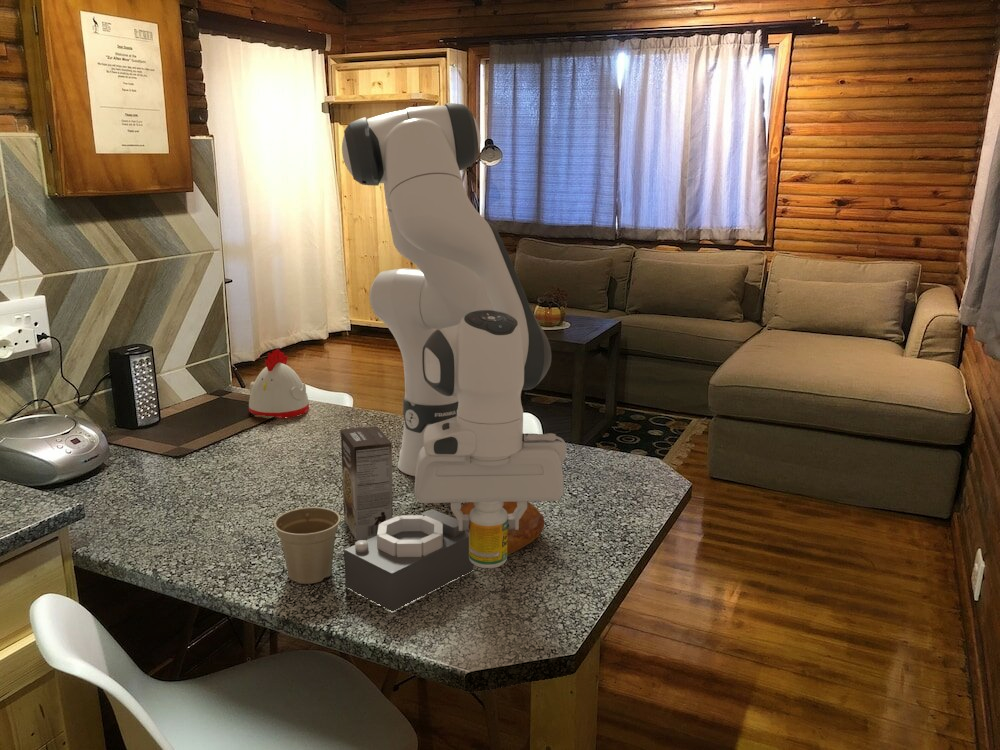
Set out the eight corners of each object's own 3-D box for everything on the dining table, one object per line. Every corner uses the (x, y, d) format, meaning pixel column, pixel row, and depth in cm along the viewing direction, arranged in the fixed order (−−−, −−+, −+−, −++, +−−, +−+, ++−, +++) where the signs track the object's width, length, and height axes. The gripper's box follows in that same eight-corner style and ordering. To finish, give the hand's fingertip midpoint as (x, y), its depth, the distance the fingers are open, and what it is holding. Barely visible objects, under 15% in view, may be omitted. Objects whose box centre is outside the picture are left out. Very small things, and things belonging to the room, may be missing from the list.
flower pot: (267, 569, 120) (264, 515, 118) (326, 553, 125) (324, 501, 123) (291, 597, 113) (288, 540, 111) (353, 578, 118) (351, 524, 116)
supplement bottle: (468, 550, 116) (469, 488, 113) (506, 550, 116) (507, 488, 113) (468, 569, 110) (469, 504, 108) (508, 569, 111) (509, 504, 108)
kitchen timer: (237, 415, 191) (233, 353, 187) (270, 400, 204) (267, 341, 200) (288, 422, 187) (285, 359, 183) (319, 406, 200) (317, 346, 196)
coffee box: (342, 519, 137) (339, 428, 133) (379, 513, 140) (377, 424, 136) (355, 542, 129) (352, 446, 125) (394, 535, 132) (392, 441, 128)
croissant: (557, 549, 133) (564, 503, 132) (495, 571, 121) (502, 520, 120) (491, 521, 142) (497, 477, 141) (427, 539, 130) (433, 491, 129)
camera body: (426, 549, 127) (426, 502, 125) (473, 571, 121) (474, 521, 119) (345, 587, 115) (343, 536, 113) (392, 613, 109) (391, 559, 107)
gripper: (563, 425, 112) (559, 517, 116) (414, 427, 110) (415, 519, 114) (570, 441, 106) (566, 537, 110) (413, 443, 104) (414, 540, 108)
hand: (488, 528), depth 112 cm, fingers closed on supplement bottle, 5 cm apart
